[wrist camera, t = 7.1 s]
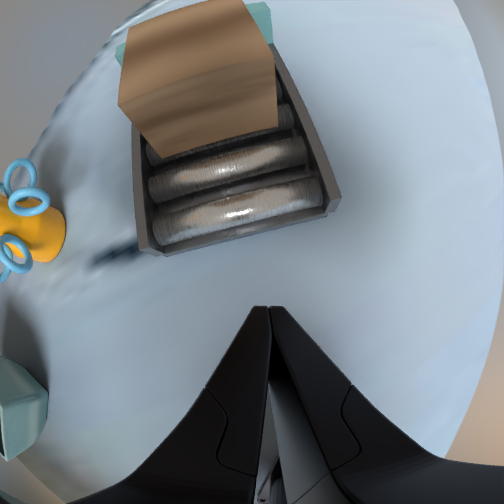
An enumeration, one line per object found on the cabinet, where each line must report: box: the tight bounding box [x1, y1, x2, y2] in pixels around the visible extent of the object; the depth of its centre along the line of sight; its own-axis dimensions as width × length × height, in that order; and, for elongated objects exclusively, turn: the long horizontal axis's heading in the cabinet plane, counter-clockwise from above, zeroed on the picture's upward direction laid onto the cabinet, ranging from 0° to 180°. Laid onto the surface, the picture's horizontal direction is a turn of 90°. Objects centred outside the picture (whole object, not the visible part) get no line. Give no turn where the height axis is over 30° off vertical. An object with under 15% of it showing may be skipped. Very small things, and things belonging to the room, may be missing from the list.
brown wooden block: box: [118, 0, 278, 159], centre depth 16 cm, size 10×9×7 cm
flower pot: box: [0, 356, 48, 461], centre depth 16 cm, size 9×9×9 cm
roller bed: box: [132, 43, 342, 257], centre depth 21 cm, size 17×14×4 cm
